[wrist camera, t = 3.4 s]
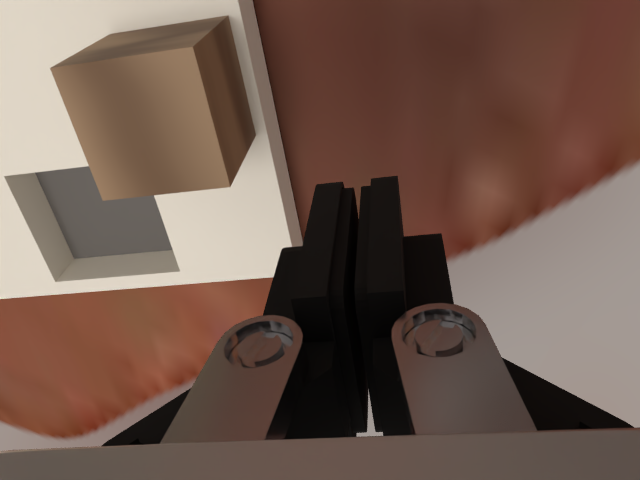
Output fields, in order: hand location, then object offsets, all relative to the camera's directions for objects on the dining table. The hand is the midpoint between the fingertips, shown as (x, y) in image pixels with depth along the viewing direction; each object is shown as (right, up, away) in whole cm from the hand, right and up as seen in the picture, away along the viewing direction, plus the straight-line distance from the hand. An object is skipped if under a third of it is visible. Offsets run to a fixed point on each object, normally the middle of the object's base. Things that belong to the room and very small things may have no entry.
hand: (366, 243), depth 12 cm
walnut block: (-7, +7, +12) cm, 15 cm away
